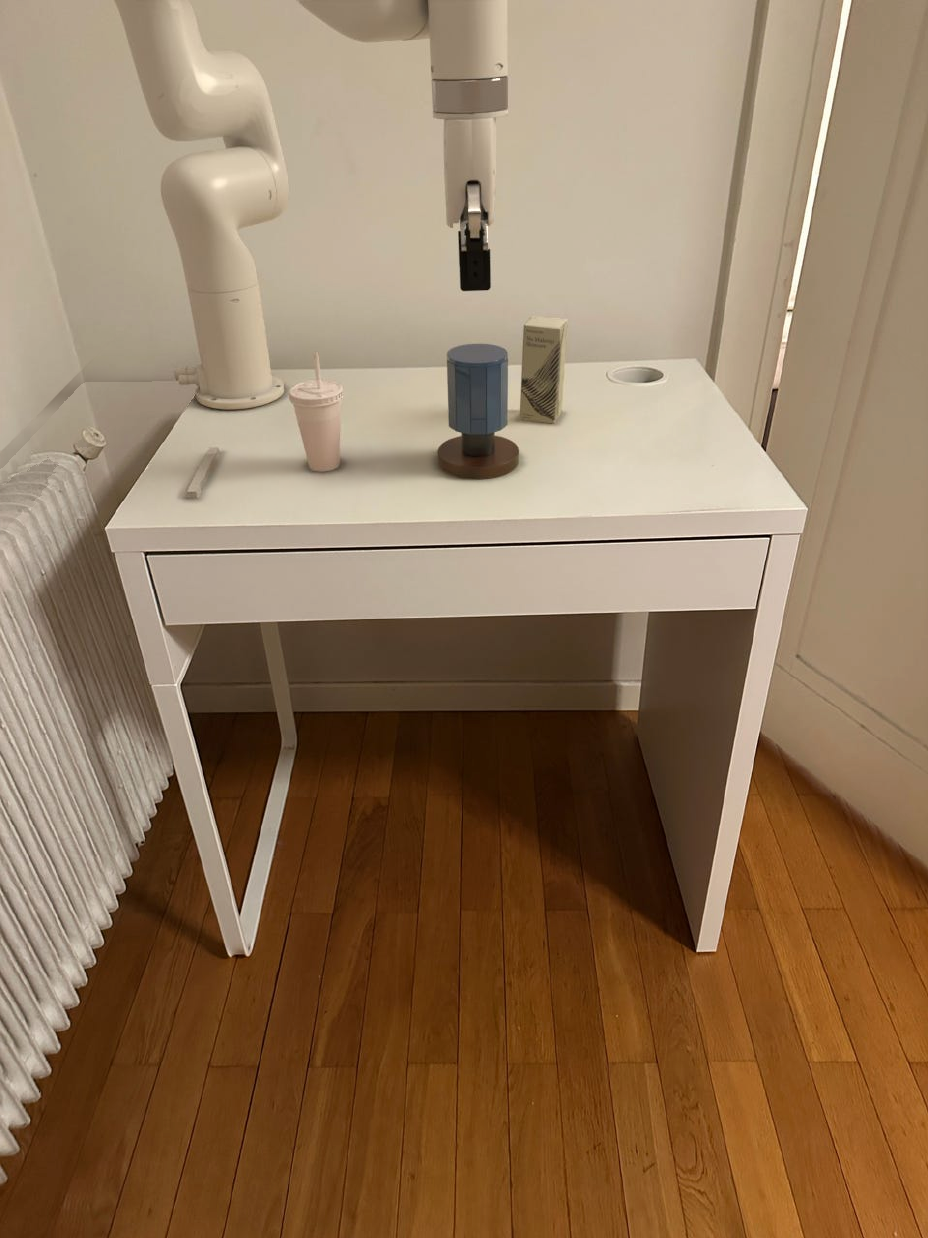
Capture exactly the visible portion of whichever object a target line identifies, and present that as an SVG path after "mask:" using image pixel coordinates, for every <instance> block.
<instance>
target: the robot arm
mask: <svg viewBox="0 0 928 1238" xmlns="http://www.w3.org/2000/svg"><path fill="white" fill-rule="evenodd" d="M113 1H114V3H115V6H116V8H117V11H118V13H119V16H120V20H121V22H122V25H123V28H124V31H125V35H126V39H127V43H128V47H129V50H130V53H131V57H132V59H133V63H134V66H135V71H136V73H137V76H138V80H139V83H140V87H141V91H142V94H143V97H144V99H145V100H144V101H145V104H146V106H147V110H148V112H149V115H150V118H151V120H152V122H153V125H154V126H155V127H156V129H157V131H158V132H159V133H160V134H161V135H162V136H163V137H164V138H166V139H168V140H171V141H174V142H193V141H203V140H209V139H215V138H222V140H223V144H224V146H225V148H218V149H211V150H205V151H200V152H199V151H198V152H193V153H189V154H186V155H183V156H181V157H179V158H176V159H175V160H173V161H172V162H171V163H170V164H168V166H166V169H165V170H164V172H163V174H162V177H161V180H160V196H161V200H162V204H163V207H164V211H165V213H166V216H167V218H168V221H169V224H170V226H171V229H172V232H173V235H174V237H175V242H176V244H177V248H178V252H179V256H180V260H181V265H182V269H183V274H184V279H185V284H186V288H187V294H188V299H189V305H190V308H191V316H192V321H193V326H194V332H195V337H196V341H197V342H196V343H197V347H198V354H199V358H200V364H196V365H195V367H189V366H175V367H174V369H173V376H174V379H175V381H178V383H179V385H181V386H185V385H186V386H187V385H195V386H197V387H196V389H195V397H196V400H197V402H198V403H199V404H201V405H202V406H205V407H207V408H212V409H217V410H244V409H250V408H251V409H252V408H256V407H260V406H264V405H267V404H270V403H272V402H274V401H276V400H277V399H280V397H281V396H283V394H284V393H285V384H284V381H283V380H282V378H280V377H278V376H276V375H273V374H272V369H271V362H270V361H271V360H270V353H269V346H268V339H267V333H266V332H267V331H266V327H265V325H266V324H265V319H264V312H263V306H262V305H263V304H262V298H261V291H260V290H261V289H260V285H259V279H258V271H257V267H256V264H255V261H254V258H253V255H252V254H251V252H250V250H249V249H248V248H247V246H246V244H245V243H244V242H243V240H242V239H241V237H240V235H239V233H238V231H237V230H240V229H243V228H247V227H252V226H255V225H259V224H263V223H267V222H270V221H273V220H275V219H276V218H278V217H280V216H281V215H282V214H283V213H284V211H285V210H286V208H287V205H288V203H289V198H290V182H289V175H288V170H287V166H286V165H287V164H286V160H285V157H284V153H283V148H282V144H281V140H280V135H279V131H278V127H277V124H276V118H275V115H274V110H273V106H272V102H271V98H270V94H269V92H268V89H267V85H266V83H265V81H264V79H263V76H262V75H261V73H260V71H259V70H258V68H257V67H256V66H255V64H254V63H253V62H252V61H251V59H249V58H248V57H247V56H245V55H243V54H242V53H240V52H237V51H235V50H229V49H215V50H207V49H206V47H205V45H204V42H203V39H202V36H201V33H200V30H199V26H198V25H199V24H198V22H197V17H196V13H195V11H194V8H193V6H192V3H191V1H190V0H113ZM296 2H297V3H298V4H300V5H301V6H302V7H303V8H304V9H306V11H308V12H309V13H311V14H312V15H313V16H314V17H316V18H318V19H319V20H320V21H321V22H323V23H324V24H325V25H327V26H328V27H330V28H331V29H333V31H336V32H337V33H339V34H341V35H342V36H344V37H346V38H349V39H351V40H352V41H353V40H354V41H357V42H361V43H381V42H395V41H397V42H398V41H400V42H401V41H402V42H404V41H419V40H428V39H429V50H430V51H429V52H430V54H429V55H430V74H431V96H432V97H431V99H432V100H431V101H432V118H433V119H438V120H443V139H442V140H443V171H444V172H443V173H444V195H445V199H444V200H445V217H446V219H445V220H446V225H447V227H449V229H453V228H454V224H459V225H460V227H459V229H460V230H458V232H457V236H458V239H457V240H458V264H459V265H458V266H459V287H460V290H461V291H462V292H480V291H482V292H483V291H489V290H491V288H492V278H491V277H492V275H491V274H492V273H491V271H492V269H491V249H490V248H489V233H488V232H489V231H488V230H489V229H488V227H490V226H491V225H492V224H494V217H495V205H496V204H495V203H496V188H497V187H496V186H497V118H502V117H506V116H508V115H509V78H508V75H509V52H508V51H509V47H508V46H509V45H508V44H509V43H508V42H509V40H508V37H509V36H508V35H509V31H508V30H509V29H508V26H509V25H508V18H509V17H508V14H509V13H508V10H509V9H508V7H509V6H508V0H296Z"/></svg>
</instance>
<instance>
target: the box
mask: <svg viewBox="0 0 928 1238" xmlns="http://www.w3.org/2000/svg"><path fill="white" fill-rule="evenodd" d="M568 326H569V320H568V319H566V318H558V317H549V316H537V315H531V316H530V317H529V318H528V319H527V320H526V321H525V322H524V324H523V330H522V349H521V350H522V351H521V353H522V354H521V376H520V400H519V419H520V420H524V421H532V422H537V423H539V422H540V423H547V424H555V422H557V420H558V419H559V418H560V416H561V414H562V409H563V395H564V394H563V393H564V382H565V381H564V380H565V366H566V354H567V353H566V352H567V340H568V338H567V337H568V328H569V327H568Z"/></svg>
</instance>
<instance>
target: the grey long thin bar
mask: <svg viewBox="0 0 928 1238" xmlns="http://www.w3.org/2000/svg"><path fill="white" fill-rule="evenodd" d="M219 457H220V449H219V446H216V447H214V446H213V447H210V446H209V447H208V449H207V451H206V453H205V455H204V457H203V459H202V461H201V462H200V464H199V467H198V469H197V471H196V473H195V474H194V476H193V478H192V480H191V482H190V483H189V486H188V488H187V489H186V497H187V500H198V499H199V497H200V496H201V494H202V491H203V489H204V487H205V486H206V483H207V481H208V479H209V476H210V475H211V472H212V470H213V469H214V467H215V465H216V462H217V460H218V458H219Z"/></svg>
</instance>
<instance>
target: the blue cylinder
mask: <svg viewBox="0 0 928 1238" xmlns="http://www.w3.org/2000/svg"><path fill="white" fill-rule="evenodd" d="M508 354H509V352H508V350H506V349H505V348H504V347H502V346H499V345H496V344H490V343H468V344H467V343H466V344H462V345H457V346H454V347H451V348H450V349H448V350H447V352H446V376H447V377H446V378H447V383H446V384H447V409H448V411H447V413H448V416H447V417H448V427H449V428H450V429H451V430H453V431H455V432H456V433H460V434H462V433H465V434H470V435H480V434H490V433H494V432H495V433H498V432H500V431H502V430H503V429H505V428H506V427H507V426H508V417H509V415H508V411H509V410H508V409H509V407H508V406H509V402H508V400H509V399H508V398H509V397H508V396H509V358H508V357H509V356H508Z"/></svg>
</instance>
